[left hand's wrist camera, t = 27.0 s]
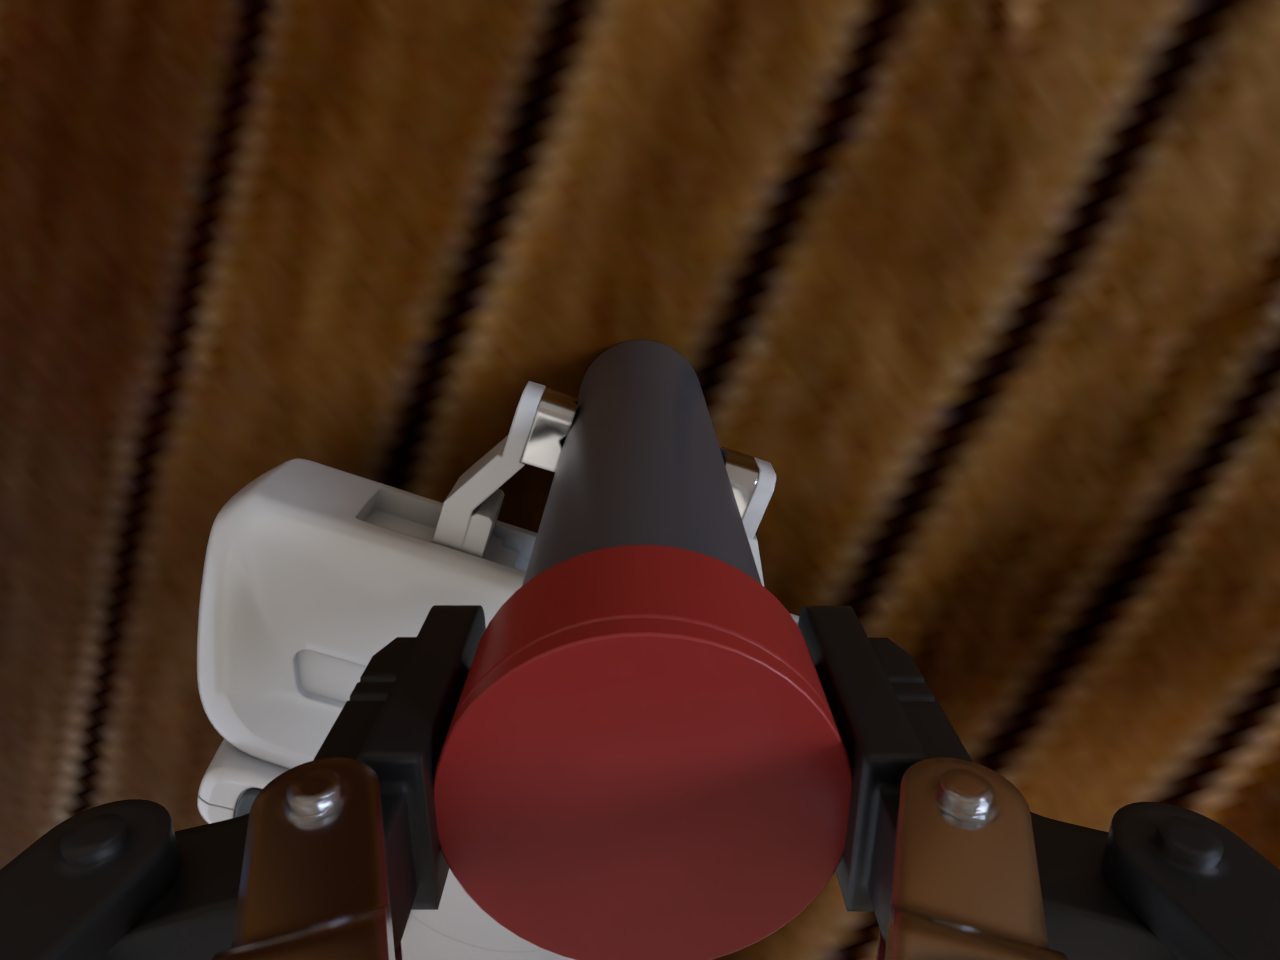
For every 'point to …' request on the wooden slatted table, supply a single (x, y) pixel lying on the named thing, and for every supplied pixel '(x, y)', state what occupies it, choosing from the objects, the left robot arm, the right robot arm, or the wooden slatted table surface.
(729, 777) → the lid
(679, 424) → the dark gray cylinder
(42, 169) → the wooden slatted table surface
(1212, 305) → the wooden slatted table surface
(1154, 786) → the wooden slatted table surface
